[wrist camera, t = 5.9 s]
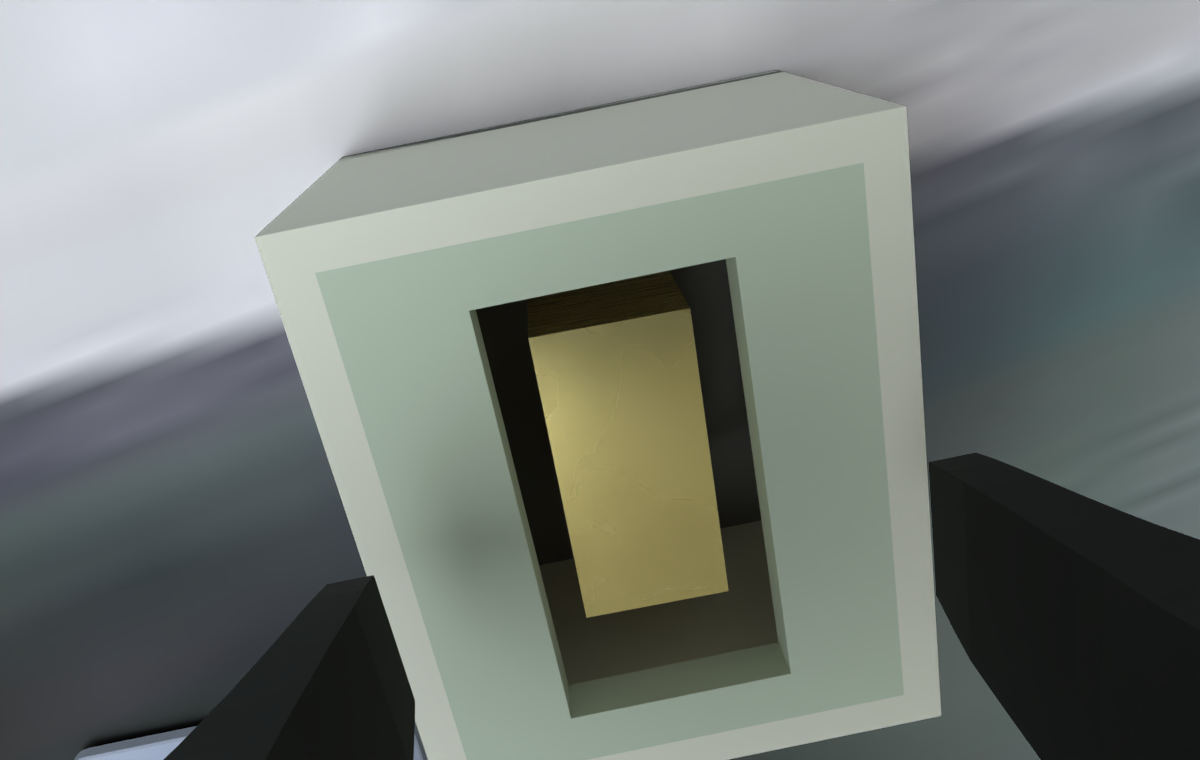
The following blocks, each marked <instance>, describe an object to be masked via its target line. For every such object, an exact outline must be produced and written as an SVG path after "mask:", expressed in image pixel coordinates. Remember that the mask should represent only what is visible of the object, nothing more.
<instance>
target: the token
mask: <svg viewBox="0 0 1200 760" xmlns="http://www.w3.org/2000/svg"><path fill="white" fill-rule="evenodd" d="M527 313H528V339H529V344H530V349H531V354H532V358H533V363H534V368H535V373H536V378H537V382H538V387H539V392H540V397H541V402H542V406H543V411H544V416H545V421H546V426H547V430H548V435H549V440H550V445H551V450H552V455H553V459H554V464H555V469H556V474H557V479H558V483H559V488H560V493H561V498H562V503H563V507H564V512H565V517H566V522H567V527H568V531H569V536H570V541H571V546H572V551H573V555H574V560H575V565H576V570H577V575H578V579H579V584H580V589H581V594H582V599H583V603H584V608H585V613H586V618H588V617H594V616H599V615H604V614H610V613H615V612H620V611H626V610H631V609H636V608H642V607H647V606H652V605H657V604H663V603H668V602H673V601H679V600H684V599H689V598H695V597H700V596H705V595H711V594H716V593H721V592H726V591H729V590H728V582H727V575H726V568H725V560H724V553H723V545H722V538H721V531H720V523H719V516H718V509H717V501H716V494H715V487H714V479H713V472H712V465H711V457H710V450H709V443H708V435H707V428H706V421H705V413H704V406H703V399H702V391H701V384H700V376H699V369H698V362H697V354H696V347H695V340H694V332H693V325H692V318H691V310H690V307H689V305H688V303H687V302H686V300H685V298H684V296H683V294H682V293H681V291H680V289H679V287H678V285H677V284H676V282H675V280H674V278H673V276H672V275H671V273H670V271H669V270H668V271H663V272H658V273H654V274H649V275H644V276H639V277H634V278H629V279H624V280H619V281H614V282H609V283H604V284H599V285H594V286H589V287H584V288H579V289H574V290H569V291H564V292H559V293H554V294H549V295H544V296H540V297H535V298H530V299H527Z"/></svg>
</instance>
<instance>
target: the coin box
mask: <svg viewBox="0 0 1200 760" xmlns="http://www.w3.org/2000/svg"><path fill="white" fill-rule="evenodd" d="M254 238H255V241H256V244H257V247H258V250H259V253H260V256H261V259H262V262H263V265H264V268H265V271H266V274H267V277H268V280H269V283H270V286H271V289H272V292H273V295H274V298H275V301H276V304H277V307H278V310H279V313H280V316H281V319H282V322H283V325H284V328H285V331H286V334H287V337H288V340H289V343H290V346H291V349H292V352H293V355H294V358H295V361H296V364H297V367H298V370H299V373H300V376H301V379H302V382H303V385H304V388H305V391H306V394H307V397H308V400H309V403H310V406H311V409H312V412H313V415H314V418H315V421H316V424H317V427H318V430H319V433H320V436H321V439H322V442H323V445H324V448H325V451H326V454H327V457H328V460H329V463H330V466H331V469H332V472H333V475H334V478H335V482H336V485H337V488H338V491H339V494H340V497H341V500H342V503H343V506H344V509H345V512H346V515H347V518H348V521H349V524H350V527H351V530H352V533H353V536H354V539H355V542H356V545H357V548H358V551H359V554H360V557H361V560H362V563H363V566H364V569H365V572H366V575H367V576H372V575H374V577H375V580H376V583H377V586H378V589H379V592H380V595H381V599H382V602H383V605H384V608H385V611H386V614H387V617H388V620H389V623H390V626H391V629H392V632H393V635H394V638H395V641H396V644H397V647H398V650H399V653H400V656H401V659H402V662H403V665H404V668H405V672H406V675H407V678H408V681H409V684H410V687H411V690H412V693H413V696H414V699H415V722H416V725H417V728H418V731H419V734H420V737H421V740H422V743H423V746H424V749H425V752H426V755H427V758H428V760H728V759H733V758H738V757H743V756H748V755H753V754H757V753H762V752H767V751H772V750H777V749H782V748H787V747H792V746H797V745H801V744H806V743H811V742H816V741H821V740H826V739H831V738H836V737H841V736H845V735H850V734H855V733H860V732H865V731H870V730H875V729H880V728H885V727H889V726H894V725H899V724H904V723H909V722H914V721H919V720H924V719H929V718H933V717H938V716H941V703H940V685H939V668H938V650H937V633H936V615H935V598H934V581H933V563H932V546H931V528H930V511H929V493H928V476H927V458H926V441H925V423H924V406H923V388H922V371H921V354H920V336H919V319H918V301H917V284H916V266H915V249H914V231H913V214H912V196H911V179H910V161H909V144H908V126H907V109H906V106H904V105H900V104H897V103H893V102H890V101H886V100H883V99H879V98H875V97H872V96H868V95H865V94H861V93H858V92H854V91H850V90H847V89H843V88H840V87H836V86H833V85H829V84H825V83H822V82H818V81H815V80H811V79H808V78H804V77H800V76H797V75H793V74H790V73H786V72H783V71H779V70H773V71H768V72H763V73H758V74H753V75H748V76H744V77H739V78H734V79H729V80H724V81H719V82H714V83H709V84H704V85H699V86H694V87H689V88H684V89H679V90H674V91H669V92H664V93H659V94H654V95H649V96H644V97H639V98H634V99H629V100H624V101H619V102H614V103H609V104H604V105H599V106H594V107H589V108H584V109H579V110H574V111H569V112H564V113H559V114H554V115H549V116H544V117H539V118H534V119H529V120H524V121H519V122H514V123H509V124H504V125H499V126H494V127H489V128H484V129H479V130H474V131H469V132H465V133H460V134H455V135H450V136H445V137H440V138H435V139H430V140H425V141H420V142H415V143H410V144H405V145H400V146H395V147H390V148H385V149H380V150H375V151H370V152H365V153H360V154H355V155H350V156H345V157H342V158H341V159H340V160H339V161H337V162H336V163H335V164H334V165H333V166H332V167H331V168H330V169H329V170H328V171H326V172H325V173H324V174H323V175H322V176H321V177H320V178H319V179H318V180H317V181H315V182H314V183H313V184H312V185H311V186H310V187H309V188H308V189H307V190H306V191H305V192H303V193H302V194H301V195H300V196H299V197H298V198H297V199H296V200H295V201H294V202H292V203H291V204H290V205H289V206H288V207H287V208H286V209H285V210H284V211H283V212H281V213H280V214H279V215H278V216H277V217H276V218H275V219H274V220H273V221H272V222H271V223H269V224H268V225H267V226H266V227H265V228H264V229H263V230H262V231H261V232H260V233H258V234H257V235H256V236H255V237H254ZM668 270H669V271H670V273H671V275H672V276H673V278H674V280H675V282H676V284H677V285H678V287H679V289H680V291H681V293H682V294H683V296H684V298H685V300H686V302H687V303H688V305H689V307H690V310H691V318H692V325H693V332H694V340H695V347H696V354H697V362H698V369H699V376H700V384H701V391H702V399H703V406H704V413H705V421H706V428H707V435H708V443H709V450H710V457H711V465H712V472H713V479H714V487H715V494H716V501H717V509H718V516H719V523H720V531H721V538H722V545H723V553H724V560H725V568H726V575H727V582H728V590H729V591H726V592H721V593H716V594H711V595H705V596H700V597H695V598H689V599H684V600H679V601H673V602H668V603H663V604H657V605H652V606H647V607H642V608H636V609H631V610H626V611H620V612H615V613H610V614H604V615H599V616H594V617H588V618H586V613H585V608H584V603H583V599H582V594H581V589H580V584H579V579H578V575H577V570H576V565H575V560H574V555H573V551H572V546H571V541H570V536H569V531H568V527H567V522H566V517H565V512H564V507H563V503H562V498H561V493H560V488H559V483H558V479H557V474H556V469H555V464H554V459H553V455H552V450H551V445H550V440H549V435H548V430H547V426H546V421H545V416H544V411H543V406H542V402H541V397H540V392H539V387H538V382H537V378H536V373H535V368H534V363H533V358H532V354H531V349H530V344H529V339H528V313H527V299H530V298H535V297H540V296H544V295H549V294H554V293H559V292H564V291H569V290H574V289H579V288H584V287H589V286H594V285H599V284H604V283H609V282H614V281H619V280H624V279H629V278H634V277H639V276H644V275H649V274H654V273H658V272H663V271H668Z"/></svg>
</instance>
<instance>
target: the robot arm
mask: <svg viewBox="0 0 1200 760" xmlns="http://www.w3.org/2000/svg"><path fill="white" fill-rule="evenodd" d="M929 474H930V492H931V509H932V527H933V545H934V563H935V580H936V595H937V597H938V599H939V601H940V603H941V605H942V607H943V609H944V611H945V613H946V615H947V617H948V619H949V621H950V623H951V625H952V627H953V629H954V631H955V633H956V634H957V636H958V638H959V640H960V642H961V644H962V646H963V647H964V649H965V651H966V653H967V655H968V657H969V658H970V660H971V662H972V663H973V665H974V666H975V668H976V669H977V670H978V672H979V673H980V675H981V676H982V678H983V679H984V681H985V682H986V683H987V685H988V686H989V688H990V689H991V690H992V692H993V693H994V695H995V696H996V698H997V699H998V700H999V702H1000V703H1001V705H1002V706H1003V707H1004V709H1005V710H1006V712H1007V713H1008V715H1009V716H1010V717H1011V719H1012V720H1013V721H1014V723H1015V724H1016V726H1017V727H1018V728H1019V730H1020V731H1021V733H1022V734H1023V735H1024V737H1025V738H1026V740H1027V741H1028V742H1029V744H1030V745H1031V747H1032V748H1033V749H1034V751H1035V752H1036V754H1037V755H1038V756H1039V758H1040V759H1041V760H1200V540H1199V539H1196V538H1193V537H1190V536H1187V535H1184V534H1182V533H1179V532H1176V531H1173V530H1170V529H1167V528H1164V527H1162V526H1159V525H1156V524H1153V523H1151V522H1148V521H1145V520H1143V519H1140V518H1137V517H1135V516H1132V515H1130V514H1127V513H1124V512H1122V511H1119V510H1117V509H1114V508H1112V507H1109V506H1107V505H1104V504H1102V503H1099V502H1097V501H1095V500H1092V499H1090V498H1087V497H1085V496H1082V495H1080V494H1078V493H1075V492H1073V491H1070V490H1068V489H1066V488H1063V487H1061V486H1059V485H1056V484H1054V483H1051V482H1049V481H1047V480H1044V479H1042V478H1040V477H1037V476H1035V475H1033V474H1030V473H1028V472H1025V471H1023V470H1021V469H1018V468H1016V467H1013V466H1011V465H1008V464H1006V463H1003V462H1001V461H998V460H996V459H993V458H990V457H987V456H984V455H981V454H978V453H972V454H967V455H962V456H958V457H953V458H948V459H943V460H938V461H933V462H929ZM74 760H428V759H427V756H426V753H425V750H424V747H423V744H422V741H421V738H420V735H419V732H418V729H417V726H416V723H415V699H414V696H413V693H412V690H411V687H410V684H409V681H408V678H407V675H406V672H405V668H404V665H403V662H402V659H401V656H400V653H399V650H398V647H397V644H396V641H395V638H394V635H393V632H392V629H391V626H390V623H389V620H388V617H387V614H386V611H385V608H384V605H383V602H382V599H381V595H380V592H379V589H378V586H377V583H376V580H375V577H374V575H372V576H367V577H362V578H357V579H352V580H347V581H342V582H337V583H332V584H327V585H326V586H325V587H324V588H323V589H322V590H321V591H320V592H319V593H318V594H317V595H316V596H315V597H314V598H313V599H312V601H311V602H310V603H309V604H308V605H307V606H306V607H305V608H304V609H303V611H302V612H301V613H300V614H299V615H298V616H297V617H296V619H295V620H294V621H293V622H292V623H291V624H290V625H289V627H288V628H287V629H286V630H285V631H284V632H283V633H282V635H281V636H280V637H279V638H278V639H277V640H276V642H275V643H274V644H273V645H272V646H271V647H270V648H269V649H268V651H267V652H266V653H265V654H264V655H263V656H262V657H261V658H260V660H259V661H258V662H257V663H256V664H255V665H254V666H253V667H252V669H251V670H250V671H249V672H248V673H247V674H246V675H245V676H244V677H243V679H242V680H241V681H240V682H239V683H238V684H237V685H236V686H235V687H234V689H233V690H232V691H231V692H230V693H229V694H228V695H227V696H226V697H225V698H224V699H223V700H222V701H221V702H220V703H219V704H218V705H217V706H216V707H215V708H214V709H213V710H212V711H211V712H210V713H209V714H208V715H207V716H206V717H205V718H204V719H203V720H202V721H201V722H200V724H199V725H198V726H194V727H189V728H184V729H179V730H174V731H169V732H164V733H159V734H155V735H150V736H145V737H140V738H135V739H130V740H125V741H120V742H115V743H110V744H105V745H101V746H96V747H91V748H87V749H85V750H82V751H81V752H80V753H79V754H78V755H77V756H76V757H75V759H74Z"/></svg>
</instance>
